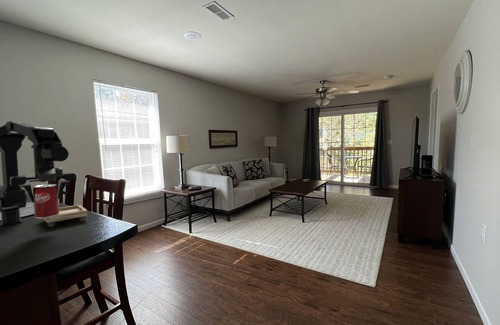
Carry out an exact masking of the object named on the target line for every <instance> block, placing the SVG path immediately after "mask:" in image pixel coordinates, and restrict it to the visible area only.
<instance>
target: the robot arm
mask: <svg viewBox="0 0 500 325" xmlns="http://www.w3.org/2000/svg"><path fill="white" fill-rule="evenodd" d="M26 138H27V140H29V141H30V142H31V143H32V144H31V146H30V148H31V149H32V150H33V165H34V167H33V168H34V176H26V175H19V166H18V164H19V163H18V162H19V161H18V152H19V151H20V149H21V148H22V146H23V141H25V140H26ZM69 155H70V154H69V151H68V149H67V148H66V147H64V146H63V143H62V139H61V138H60V137H59V135H58V133H57V132H56V131H55V129H54V127H53V128H52V127H40V126H39V127H38V126H34V125H31V124H29V123H28V124H27V123H25V122H23V121H13V120H12V121H11V120H10V121H6V123H5V124H4V125H2V126H0V160H1V162H0V163H1V171H2V172H1V173H2V188H1V189H0V216H1V221H0V227H6V226H9V225H10V226H11V225H17V224H22V223H23V219H22V218H21V209H22V208H26V207H27V200H28V197H27V195H26V193H27V194H28V196H29V198H30V200H31V202H32V203H34V198H33V188H32V185H31V184H30V183H33V182H36V183H37V182H40V183H45V182H56V181H58V184H57V186H58V198H59V200H60V199H61V197H62V194H63V191H64V189H65V187H66V185H68V184H69V183H71V182H72V181H77V174H76V173H74V172H70V171H69V172H63V171H64V170H63V167H55V162H64V161H65V160H67V159H68V158H69Z"/></svg>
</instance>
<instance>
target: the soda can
mask: <svg viewBox="0 0 500 325" xmlns="http://www.w3.org/2000/svg"><path fill="white" fill-rule="evenodd" d="M32 193H33V198H34V202H33V211H34V212H33V214H34V217H35V218H36V219H44V218H50V217H54V216H57V215H58V214H59V208H60V203H59V202H60V201H59V200H60V199H59V198H58V184H55V183H49V184H48V183H47V184H46V183H45V184H38V185H34V186H33V187H32Z"/></svg>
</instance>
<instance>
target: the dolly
mask: <svg viewBox="0 0 500 325" xmlns="http://www.w3.org/2000/svg"><path fill="white" fill-rule="evenodd" d="M87 216H88V209H86V207H83V206H82V205H81V204H77V205H76V204H75V205H70V206H62V207H59V214H58V215H57V216H54V217H50V218H43V221H45V222H46V223H47V227H48V228H53V227H54V226H55V225H56V222H59V221H66V220H72V219H76V218H79V220H80V222H81V221H82V222H85V220H87Z"/></svg>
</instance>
